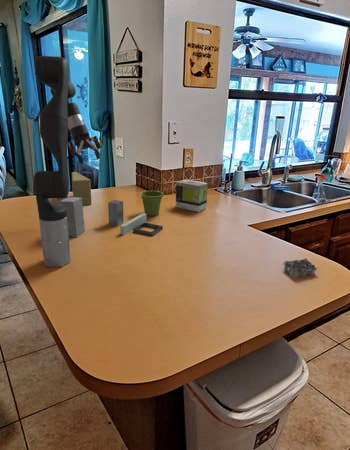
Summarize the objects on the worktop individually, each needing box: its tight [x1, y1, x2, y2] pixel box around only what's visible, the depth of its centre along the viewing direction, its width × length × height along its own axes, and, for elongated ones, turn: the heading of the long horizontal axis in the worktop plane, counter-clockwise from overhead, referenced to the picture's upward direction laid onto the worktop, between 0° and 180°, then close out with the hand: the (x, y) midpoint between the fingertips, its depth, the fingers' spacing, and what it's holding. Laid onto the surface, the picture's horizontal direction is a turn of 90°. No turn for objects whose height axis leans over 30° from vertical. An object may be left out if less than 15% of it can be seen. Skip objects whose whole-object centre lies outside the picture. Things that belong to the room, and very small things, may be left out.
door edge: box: [119, 212, 148, 236], centre depth 157 cm, size 20×2×4 cm, turn 155°
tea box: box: [175, 179, 209, 213], centre depth 187 cm, size 15×10×15 cm
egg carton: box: [282, 258, 318, 279], centre depth 122 cm, size 11×8×4 cm
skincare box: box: [59, 196, 85, 238], centre depth 146 cm, size 8×7×16 cm
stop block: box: [107, 199, 125, 227], centre depth 160 cm, size 5×5×11 cm
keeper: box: [132, 222, 164, 237], centre depth 155 cm, size 10×10×2 cm
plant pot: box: [140, 190, 164, 217], centre depth 175 cm, size 12×12×11 cm
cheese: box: [71, 171, 92, 207], centre depth 192 cm, size 22×10×15 cm, turn 26°
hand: (90, 161), depth 155 cm, fingers open, 8 cm apart
